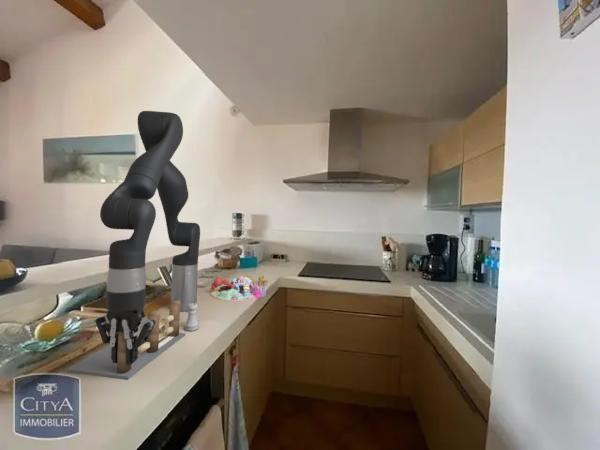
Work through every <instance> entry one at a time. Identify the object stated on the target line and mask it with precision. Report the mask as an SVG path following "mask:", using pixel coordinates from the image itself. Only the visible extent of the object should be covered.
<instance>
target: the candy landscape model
mask: <svg viewBox="0 0 600 450" xmlns="http://www.w3.org/2000/svg"><path fill="white" fill-rule="evenodd" d="M264 278H265V276H264V275H259V276H258V281H257V280H256V279H255V278H254V277H252V276H250V275H248V274H244V275H240V276H239V277H238V278H236V277H234V278H232V280H230V281H231V282H229V279H227V278H224V279H223V278H222V277H220V276H217V277H215V278H214V279H213V283H212V284H211V285H210V296H211V297H212V298H214V299H216V300H220V301H224V302H225V301H226V302H242V301H244V300H258V299H259V298H264V297H265V296H266V295H267V292H268V291H267V290H266V287H267V285H268V282H269V279H265V280H264ZM222 285H223V286H222ZM218 287H219V289H217V288H218Z"/></svg>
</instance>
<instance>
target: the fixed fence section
mask: <svg viewBox="0 0 600 450" xmlns="http://www.w3.org/2000/svg"><path fill="white" fill-rule="evenodd" d="M160 313H161V312H160V311H158V310H152V311H149V312H147V317H146V318H147V319H148V320H150V321H151V320H155V321H156V323H155V325H154V327H153V330H152V332H151V334H150V336H149V338H148V340H147V342H150V347H149V348H148V349H146V352H147V353H154V352H157V351H158V344H159V340H161V339H162V338H165V337H167V335H168V334H169V336H170V337H176V336H178V335H179V333H180V317H181V316H180V313H181V311H180V301H178V300H174V301H171V300H170V301H169V314H168V316H166V317H163V318H161V320H160ZM160 329H161V330H160ZM159 331H161V333H160V334H159Z"/></svg>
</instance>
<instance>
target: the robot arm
mask: <svg viewBox="0 0 600 450" xmlns="http://www.w3.org/2000/svg"><path fill="white" fill-rule="evenodd" d="M137 129H138V133H139V136H140V139H141V142H142V145H143V148H144V150H145V152H144V153H142V154H140V155H139V156H138V157H136V159H135V160H134V161H133V162H132V164H131V165H130V167H129V169H128V171H127V173H126V175H125V178H124V180H123V181H122V182H121V183H120V184H119V185H118V186H117V187H116V188H115V189H114V190H113V191H112V192H111V193H110V194H109V195H108V196H107V197H106V199H105V200H104V201H103V203H102V205H101V207H100V211H99V212H100V213H99V215H100V216H99V217H100V220H101V222H102V224H103V225H104V226H105V227H106V228H108V229H110V230H111V229H113V230H127V231H128V230H131V231H133V233H132V234H131V235H130V237H129V238H127V239H120V240H115V241H113V242H111V244H110V246H109V249H108V250H109V252H108V255H109V256H108V271H107V277H106V299H105V300H106V302H105V309H106V310H107V312H106V314H105V315H102V316H99V317H96V318H95V320H94V321H95V324H96V327H97V330H98V333H99V335H100V337H101V340H102V343H103V344H108V345H110V346H111V359H112V360H113V361H112V362H113V363H117V351H118V331H121V332H124V337H125V339H126V340H127V347H128V349H127V358H126V364H127V365H131V364H132V363H134V362H135V361H136V360H137V358H138V347H139V346H141V345H142V344H144V343H146V342H147V340H148V338H149V336H150V334H151V332H152V330H153V327H154V325H155V323H156V321H155V320H151V321H150V320H148V319H147V318H148V317H146V314H145V312H144V308H145V305H146V292H147V291H146V290H147V289H146V288H147V287H146V286H147V283H146V282H147V272H146V254H147V253H146V252H147V246H148V241H149V238H150V235H151V233H152V230H153V227H154V224H155V220H156V219H157V210H156V207H155V206H154V204H153V202H152V201H150V200H151V199H152V198H153V197H154V196H155V195H156V191H157V193H158V196H159V200H160V203H161V207H162V209H163V214H164V219H165V222H166V230H167V235H168V241H169V242H170V244H171V245H172V246H174V247H175V246H176V247H188V248H187V250H186V251H185V252H183V253H180V254H177V255H173V257H172V258H171V259H172V262H171V263H172V265H171V288H170V289H171V290H170V302H171V301H174V300H178V301H180V312H186V311H187V312H188V311H189V309H188V308H187V307H188V306H189V304H190V303H191V305H192V303H193V304H194V303H196V304H197V305H198V302H197V300H198V299H197V297H198V271H199V270H198V268H199V267H198V266H199V253H200V252H199V251H200V250H199V249H200V240H201V228H200V225H199V224H198V222H189V221H188V222H182V221H179V218H178V217H179V214H180V213H181V211H182V209H184V207H185V205H186V204H187V202H188V199H189V190H188V185H187V180H186V177H185V175H184V174H183V173H182V172H181V170H180V169H178V167H177V166H176V165H175V164H174V163H172V161H171V159H172V158H173V156H174V155H175V153H176V151H177V149H178V148H179V147H180V145H181V142H182V140H183V136H184V126H183V122H182V119H181V118H180V116H179V115H178V114H177V113H174V112H169V111H157V110H156V111H154V110H142V111H139V113H138V116H137ZM140 329H142V330H141V332H140ZM131 332H132V333H131Z"/></svg>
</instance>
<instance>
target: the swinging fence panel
mask: <svg viewBox="0 0 600 450" xmlns="http://www.w3.org/2000/svg"><path fill="white" fill-rule="evenodd" d="M131 333H132V332H131ZM149 347H150V342H146V343H144V344H143V345H141V346H139V347H138V356H139V355H140V354H141V353H142V352H143V351H145V350H146V349H148V348H149ZM127 349H128V347H127V340H126V339H125V337H124V332H121V331H118V351H117V372H126V371H129V370H130V369H131V365H127V364H126V358H127Z"/></svg>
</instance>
